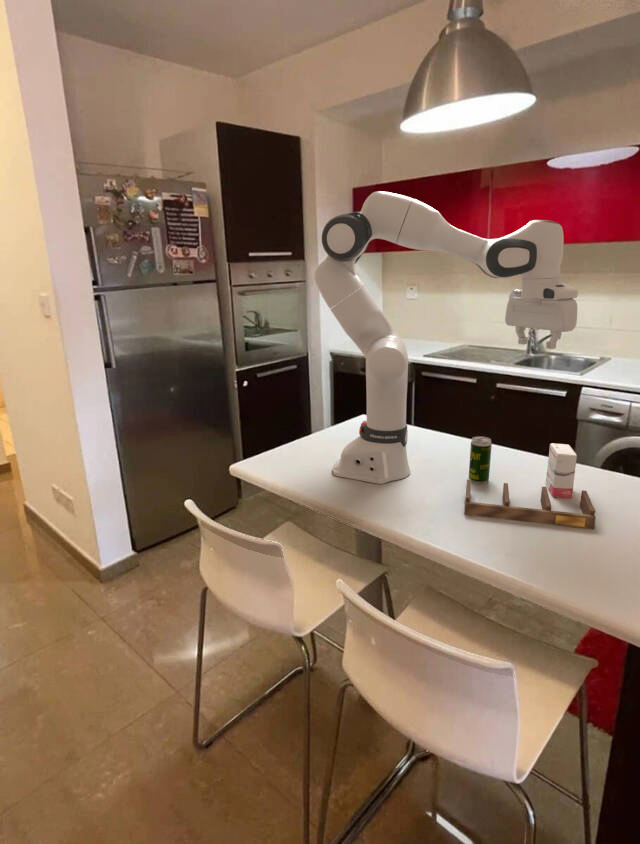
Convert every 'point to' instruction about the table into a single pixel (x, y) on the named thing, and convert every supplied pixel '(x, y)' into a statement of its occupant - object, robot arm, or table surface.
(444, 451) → the table surface
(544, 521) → the rack
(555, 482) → the ink box
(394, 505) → the table surface
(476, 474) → the beer can
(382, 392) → the robot arm
